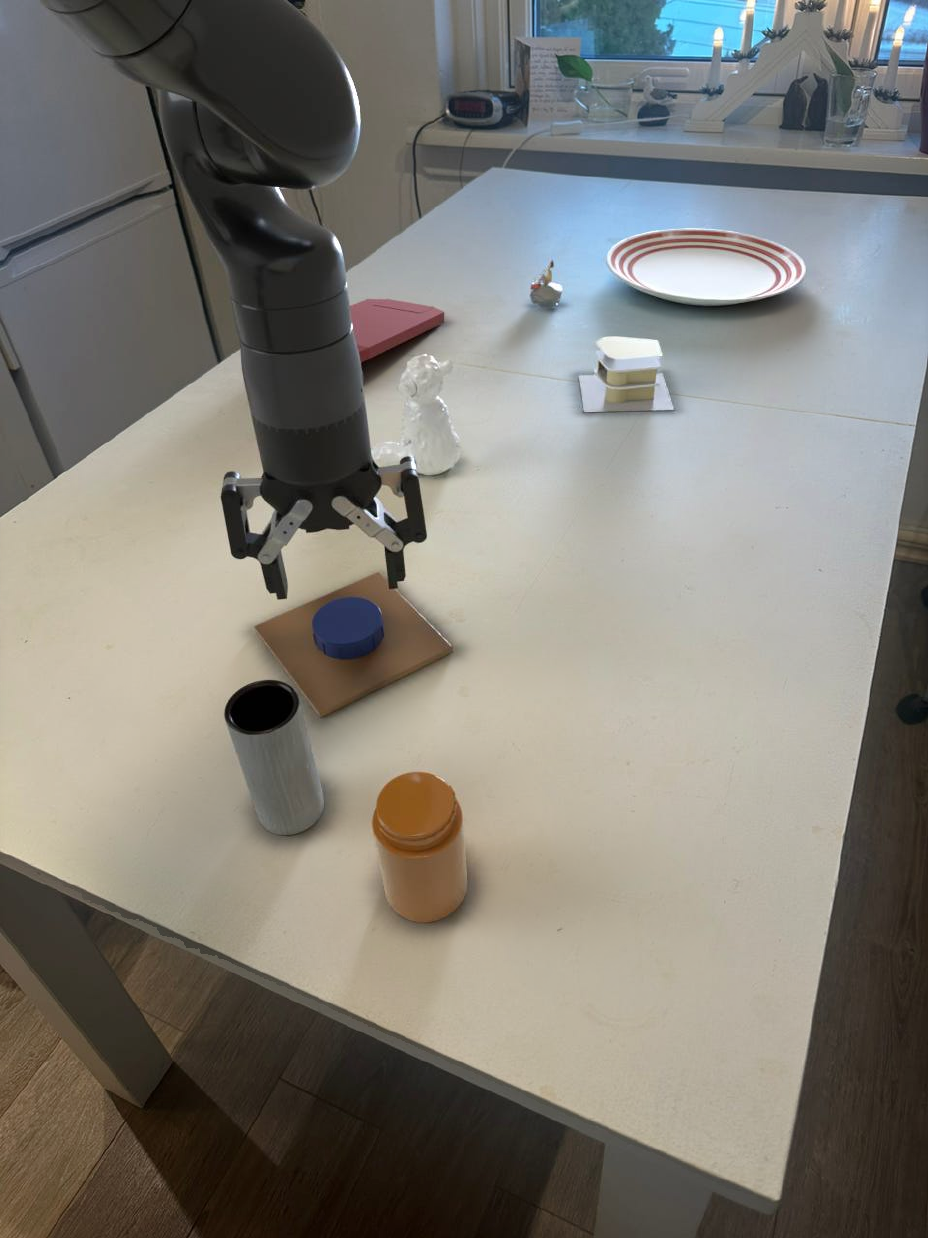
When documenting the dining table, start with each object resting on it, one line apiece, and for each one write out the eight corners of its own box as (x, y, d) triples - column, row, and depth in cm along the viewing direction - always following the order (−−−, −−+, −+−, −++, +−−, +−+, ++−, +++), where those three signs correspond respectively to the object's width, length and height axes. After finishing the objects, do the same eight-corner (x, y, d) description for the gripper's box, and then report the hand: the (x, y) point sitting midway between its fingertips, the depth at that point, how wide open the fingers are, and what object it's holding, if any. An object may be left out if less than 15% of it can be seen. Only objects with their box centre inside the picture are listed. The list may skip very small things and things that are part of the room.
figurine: (563, 311, 119) (565, 266, 115) (531, 313, 119) (531, 268, 115) (559, 296, 123) (560, 252, 119) (528, 297, 123) (528, 254, 119)
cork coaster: (320, 718, 65) (318, 713, 65) (255, 631, 73) (253, 625, 73) (453, 652, 70) (453, 646, 70) (379, 576, 78) (378, 571, 77)
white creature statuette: (431, 429, 97) (424, 324, 89) (487, 457, 92) (484, 348, 84) (366, 464, 92) (351, 356, 84) (421, 494, 87) (411, 383, 79)
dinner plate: (783, 247, 133) (788, 224, 131) (821, 321, 113) (827, 295, 111) (602, 249, 136) (603, 226, 134) (607, 321, 116) (608, 297, 114)
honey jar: (402, 936, 52) (388, 856, 46) (372, 867, 56) (356, 785, 50) (481, 902, 54) (476, 820, 48) (447, 837, 57) (439, 754, 51)
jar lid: (396, 622, 72) (394, 606, 71) (363, 667, 68) (360, 651, 67) (337, 606, 74) (334, 590, 73) (302, 649, 70) (298, 633, 69)
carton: (373, 331, 125) (264, 381, 106) (372, 296, 122) (259, 340, 104) (448, 345, 121) (347, 400, 102) (449, 309, 118) (345, 358, 99)
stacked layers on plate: (662, 373, 104) (667, 328, 101) (673, 410, 98) (679, 363, 94) (578, 375, 105) (580, 331, 101) (584, 412, 98) (586, 366, 94)
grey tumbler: (326, 830, 58) (300, 727, 51) (257, 841, 58) (222, 739, 51) (323, 776, 61) (298, 673, 54) (258, 787, 61) (224, 684, 54)
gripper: (189, 434, 54) (242, 629, 65) (419, 414, 55) (433, 610, 65) (203, 379, 59) (249, 566, 70) (411, 362, 60) (425, 550, 71)
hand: (338, 587), depth 68 cm, fingers open, 8 cm apart
